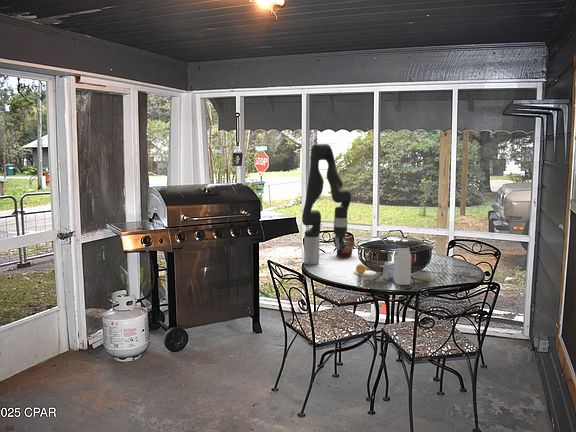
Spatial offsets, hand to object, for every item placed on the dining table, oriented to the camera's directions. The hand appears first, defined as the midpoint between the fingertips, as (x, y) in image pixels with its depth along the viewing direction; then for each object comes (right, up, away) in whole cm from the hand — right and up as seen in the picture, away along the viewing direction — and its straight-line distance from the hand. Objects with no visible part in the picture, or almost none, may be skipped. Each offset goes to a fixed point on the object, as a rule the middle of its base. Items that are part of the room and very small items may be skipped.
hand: (339, 255), depth 281 cm
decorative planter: (+9, -5, +53) cm, 54 cm away
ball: (+13, -8, +5) cm, 16 cm away
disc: (+15, -11, +8) cm, 20 cm away
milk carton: (+32, -14, -14) cm, 37 cm away
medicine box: (+28, -13, -4) cm, 31 cm away
